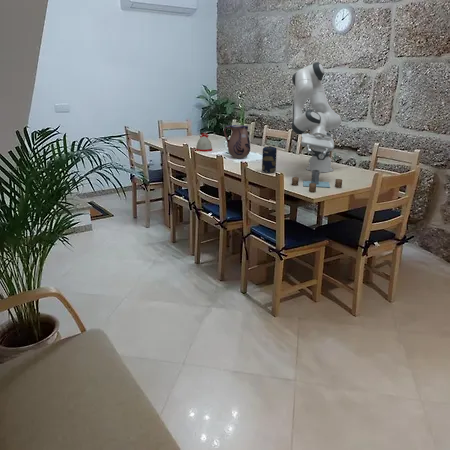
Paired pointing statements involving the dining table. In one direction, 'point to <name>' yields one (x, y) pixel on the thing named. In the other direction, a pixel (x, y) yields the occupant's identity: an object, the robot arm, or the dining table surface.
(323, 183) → the pad
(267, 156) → the canister
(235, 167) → the dining table surface
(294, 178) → the spacer posts
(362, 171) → the dining table surface
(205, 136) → the bell with red bow
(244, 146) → the ceramic pitcher
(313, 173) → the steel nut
